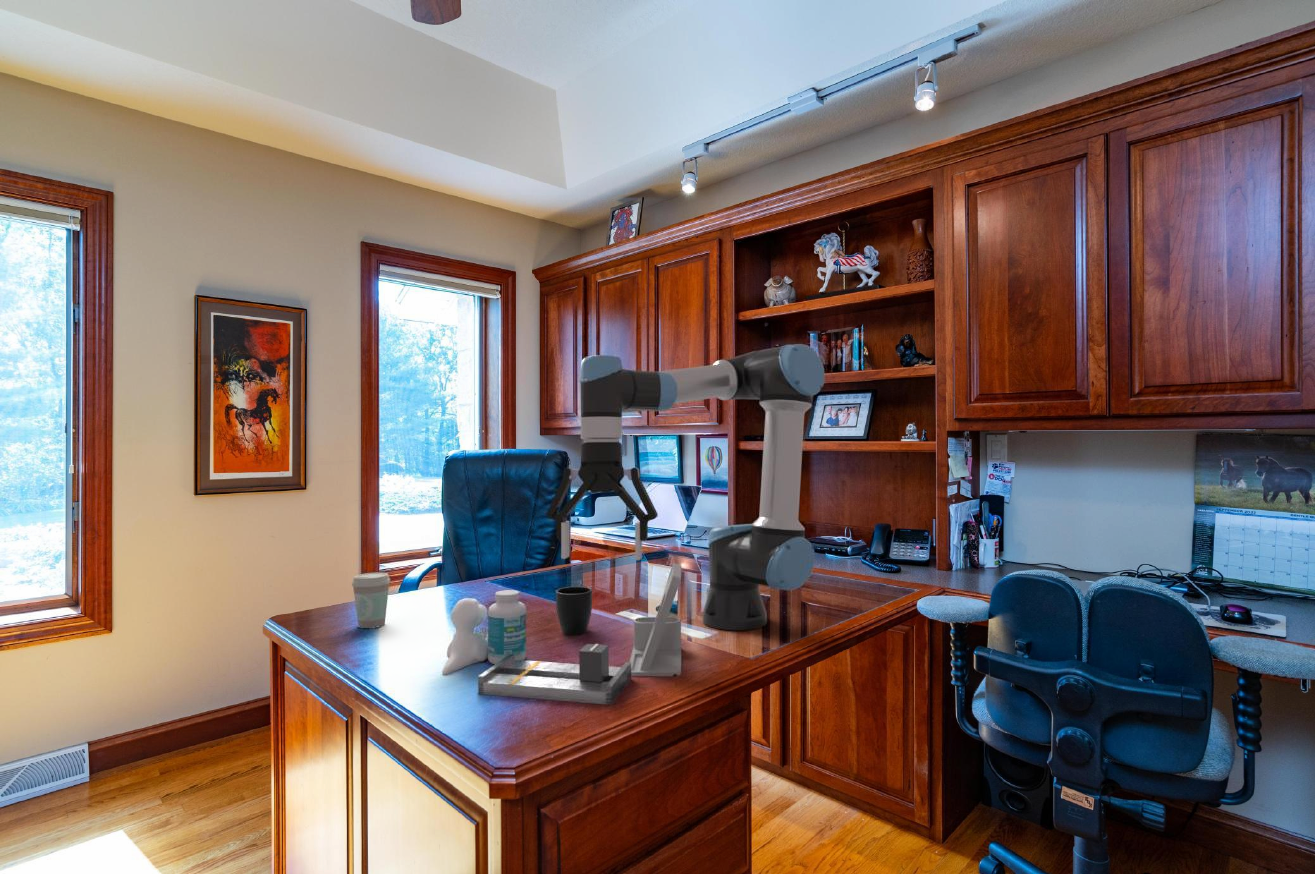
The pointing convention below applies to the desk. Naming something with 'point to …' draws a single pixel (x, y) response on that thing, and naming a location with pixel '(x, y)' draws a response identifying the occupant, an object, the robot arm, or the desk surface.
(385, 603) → the coffee cup
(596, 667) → the block
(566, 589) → the mug
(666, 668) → the phone holder
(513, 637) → the pill bottle
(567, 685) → the console
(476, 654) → the figurine
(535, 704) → the desk surface
